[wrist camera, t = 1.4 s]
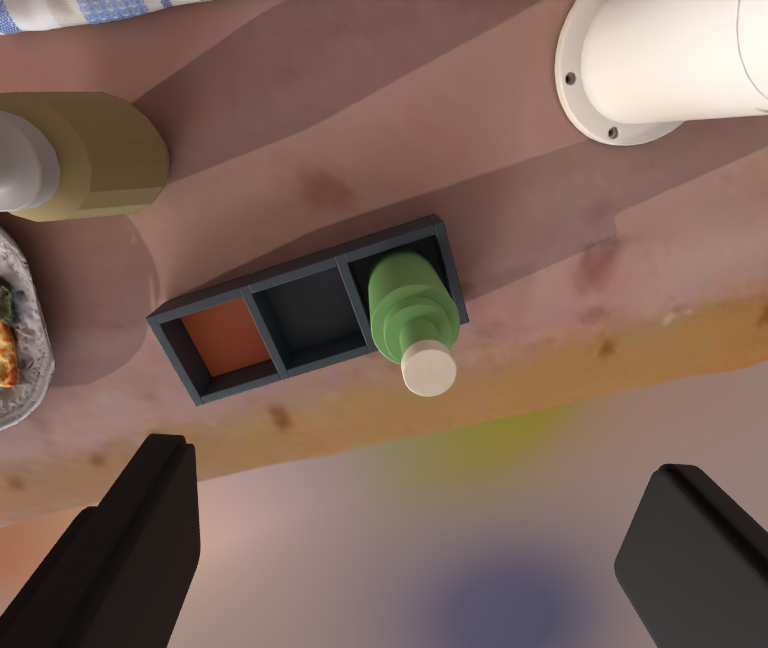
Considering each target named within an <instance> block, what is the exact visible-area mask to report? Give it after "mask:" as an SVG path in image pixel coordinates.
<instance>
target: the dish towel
mask: <svg viewBox="0 0 768 648" xmlns="http://www.w3.org/2000/svg"><path fill="white" fill-rule="evenodd" d="M206 1H212V0H0V35H6V34H15V33H19V32H22V31H39V30H50V29H55V28H61V27H68V26H76V25H84V24H98V23H103V22H110V21H115V20H121V19H126V18H131V17H135V16H140V15H142V14H146V13H150V12H154V11H158V10H161V9H164V8H167V7H172V6H177V5H182V4H188V3H195V2H206Z"/></svg>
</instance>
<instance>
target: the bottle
mask: <svg viewBox="0 0 768 648" xmlns="http://www.w3.org/2000/svg"><path fill="white" fill-rule="evenodd" d="M368 292H369V307H370V322H371V333H372V337H373V340H374V343H375V345H376V346H377V348H378V350H379V351H380V352H381V353H382V354H383V355H384V356H385V357H387V358H388V359H389V360H391V361H393V362H395V363H398V364H401V367H402V373H403V378H404V381H405V384H406V385H407V387H408V388H409V389H410V390H411V391H413V392H414V393H416V394H418V395H422V396H435V395H438V394H441V393H443V392H445V391H446V390H447V389H449V388H450V387H451V385H452V384H453V382H454V381H455V378H456V374H457V367H456V363H455V361H454V359H453V356H452V354H451V352H450V349H451V347H452V346H453V344H454V343H455V341H456V339H457V336H458V333H459V328H460V317H459V313H458V310H457V307H456V305H455V303H454V302H453V300H452V298H451V297H450V295H449V293H448V292H447V290H446V288H445V287H444V285H443V283H442V282H441V280H440V278H439V277H438V275H437V273H436V272H435V270H434V268H433V267H432V265H431V263H430V262H429V260H428V259H427V257H426V256H425V255H424V254H423V253H421V252H420V251H418V250H417V249H414V248H412V247H407V246H398V247H395V248H392V249H389V250H386V251H383V252H382V253H380V254H379V255H378V256H377V257H376V258H375V259H374V261H373V262H372V264H371V266H370V268H369V272H368Z"/></svg>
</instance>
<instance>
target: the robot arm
mask: <svg viewBox="0 0 768 648" xmlns="http://www.w3.org/2000/svg"><path fill="white" fill-rule="evenodd" d="M566 76H567V77H568V78H569V81H568V83H566V81H565V77H566ZM555 80H556V88H557V92H558V96H559V99H560V103H561V105H562V107H563V109H564V111H565V113H566V115H567V117H568V118H569V119H570V120H571V122H572V123H573V124H574V125H575V127H576V128H577V129H578V130H580V131H581V132H582V133H584V134H585V135H586V136H587V137H589V138H591V139H594V140H596V141H598V142H600V143H605V144H610V145H622V146H629V145H637V144H643V143H646V142H649V141H652V140H655V139H658V138H660V137H662V136H664V135H665V134H667V133H669V132H671V131H673V130H674V129H675V128H677V127H678V126H679V125H680V124H682V123H683V122H684V121H686V120H700V119H714V118H729V117H743V116H758V115H768V0H576V1H575V3H574V5H573V7H572V8H571V10H570V12H569V13H568V15H567V18H566V20H565V23H564V25H563V28H562V30H561V33H560V37H559V41H558V45H557V49H556V58H555ZM609 131H611V134H610V136H609V135H608V134H609ZM199 556H200V529H199V510H198V492H197V475H196V457H195V447H194V445H193V444H186V440H185V438H184V436H182V435H167V434H150V435H149V436H148V437H147V438H146V439H145V441H144V442H143V443H142V445H141V446H140V448H139V449H138V450H137V452H136V453H135V455H134V456H133V457H132V459H131V460H130V462H129V463H128V464H127V466H126V467H125V469H124V470H123V471H122V473H121V474H120V476H119V477H118V478H117V480H116V481H115V483H114V484H113V485H112V487H111V488H110V490H109V491H108V492H107V494H106V495H105V496H104V498H103V499H102V501H101V502H100V503H99V505H98V506H97V507H96V506H95V507H94V506H89V507H87V508H85V509H84V510H82V511H81V512H80V513H79V514H78V515H77V517H76V518H75V519H74V520H73V521H72V523H71V524H70V525H69V527H68V528H67V529H66V531H65V532H64V533H63V535H62V536H61V537H60V539H59V540H58V541H57V543H56V544H55V545H54V547H53V548H52V549H51V551H50V552H49V553H48V555H47V556H46V557H45V558H44V560H43V561H42V563H41V564H40V565H39V566H38V568H37V569H36V571H35V572H34V573H33V574H32V576H31V577H30V579H29V580H28V581H27V582H26V584H25V585H24V587H23V588H22V589H21V590H20V592H19V593H18V594H17V596H16V597H15V598H14V600H13V601H12V602H11V604H10V605H9V606H8V608H7V609H6V610H5V612H4V613H3V614H2V615H1V617H0V648H166V647H167V645H168V642H169V639H170V636H171V634H172V631H173V629H174V626H175V624H176V621H177V618H178V616H179V613H180V610H181V608H182V605H183V602H184V599H185V597H186V595H187V592H188V589H189V586H190V584H191V581H192V579H193V576H194V573H195V571H196V568H197V565H198V561H199ZM614 569H615V575H616V578H617V580H618V581H619V584H620V585H621V587H622V589H623V590H624V592H625V593H626V595H627V597H628V599H629V600H630V602H631V604H632V605H633V607H634V609H635V610H636V612H637V614H638V615H639V617H640V619H641V620H642V622H643V624H644V625H645V627H646V629H647V630H648V632H649V634H650V636H651V637H652V639H653V640H654V642H655V644H656V645H657V647H658V648H768V532H767V531H765V530H764V529H763V528H762V527H761V526H760V525H759V524H758V523H757V522H756V521H755V520H754V519H753V518H752V517H751V516H750V515H749V514H747V513H746V512H745V511H744V510H743V509H742V508H741V507H740V506H739V505H738V504H737V503H736V502H735V501H734V500H733V499H732V498H731V497H730V496H729V495H727V494H726V493H725V492H724V491H723V490H722V489H721V488H720V487H719V486H718V485H717V484H716V483H715V482H714V481H712V479H711V478H709V477H708V476H707V475H706V474H705V473H704V472H703V471H702V470H701V469H699V468H698V467H696V466H693V465H682V464H664V465H662V466H661V467H660V468H659V469H658V471H655V472H654V473H653V474H652V476H651V479H650V481H649V483H648V485H647V488H646V490H645V492H644V495H643V497H642V499H641V502H640V504H639V506H638V509H637V511H636V513H635V515H634V518H633V520H632V522H631V525H630V527H629V529H628V532H627V534H626V536H625V539H624V541H623V543H622V546H621V548H620V550H619V553H618V555H617V557H616V560H615V563H614Z"/></svg>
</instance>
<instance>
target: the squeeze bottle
mask: <svg viewBox="0 0 768 648" xmlns="http://www.w3.org/2000/svg"><path fill="white" fill-rule="evenodd" d="M170 161H171V160H170V156H169V152H168V147H167V144H166V142H165V141H164V139H163V138H162V136H161V135H160V133H159V131H158V130H157V129H156V127H155V126H154V125H153V124H152V123H151V121H150V120H149V119H148V118H147V117H146V116H145V115H143V114H142V113H141V112H140V111H138V110H137V109H136V108H135V107H134V106H132V105H131V104H130V103H129V102H127V101H126V100H123V99H120V98H117V97H115V96H112V95H109V94H106V93H103V92H14V93H0V212H4V211H8V212H9V213H11V214H12V215H16V216H19V217H22V218H26V219H29V220H32V221H35V222H42V221H58V220H69V219H79V218H90V217H100V216H111V215H121V214H131V213H136V212H138V211H139V210H141V209H143V208H145V207H147V206H149V205H151V204H152V203H153V202H154V200H155V199H156V198H157V196H158V195H159V193H160V192H161V190H162V189H163V187H164V185H165V183H166V180H167V177H168V173H169V167H170Z"/></svg>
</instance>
